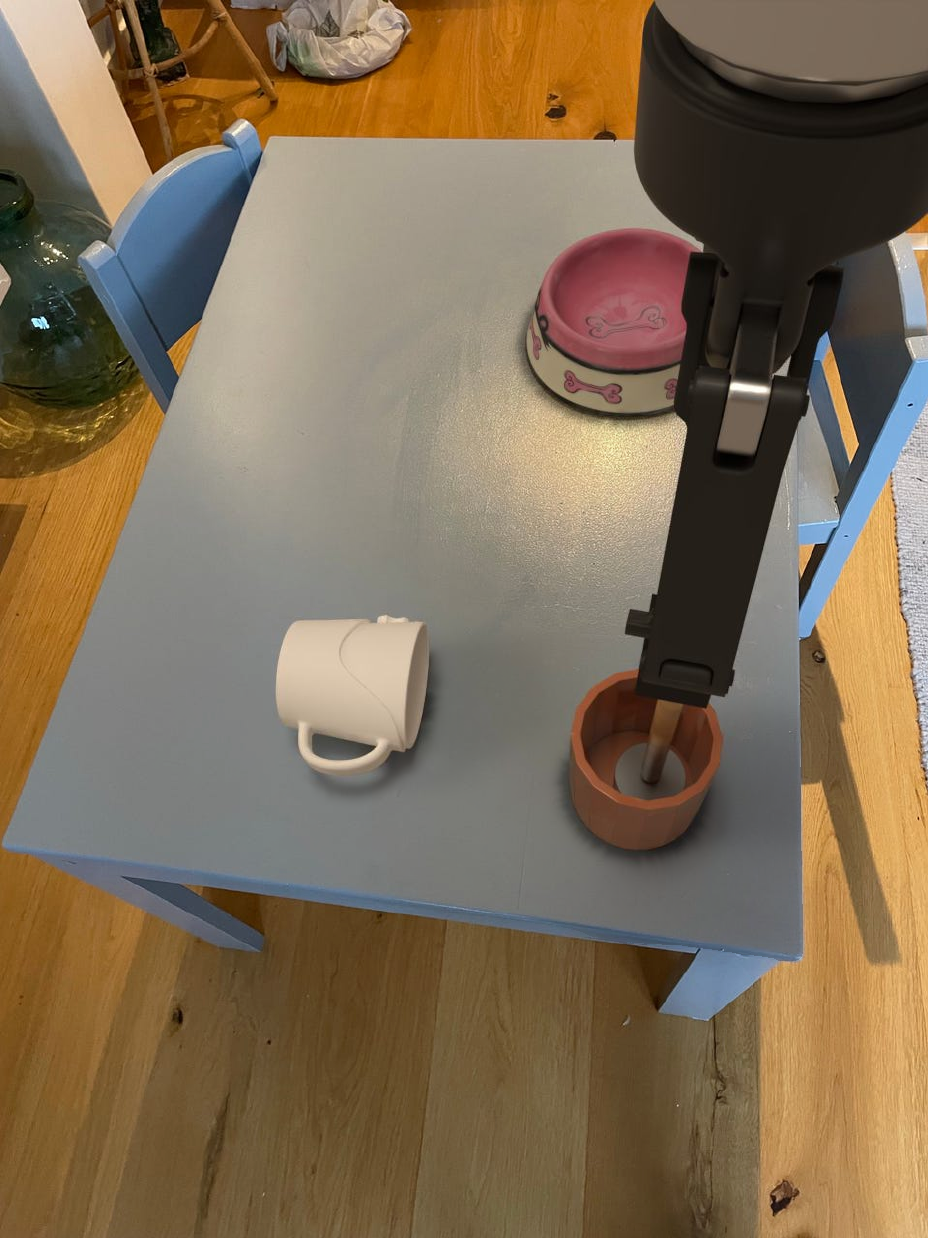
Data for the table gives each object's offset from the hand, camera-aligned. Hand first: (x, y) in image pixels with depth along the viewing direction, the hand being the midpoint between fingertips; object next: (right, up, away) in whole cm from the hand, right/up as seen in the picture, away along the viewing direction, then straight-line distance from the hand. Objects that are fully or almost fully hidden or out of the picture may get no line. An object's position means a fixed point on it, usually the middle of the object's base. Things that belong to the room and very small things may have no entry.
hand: (696, 545), depth 38 cm
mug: (-17, -10, +33) cm, 39 cm away
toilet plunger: (+3, -15, +28) cm, 32 cm away
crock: (+3, -15, +28) cm, 32 cm away
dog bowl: (+5, +23, +48) cm, 54 cm away
